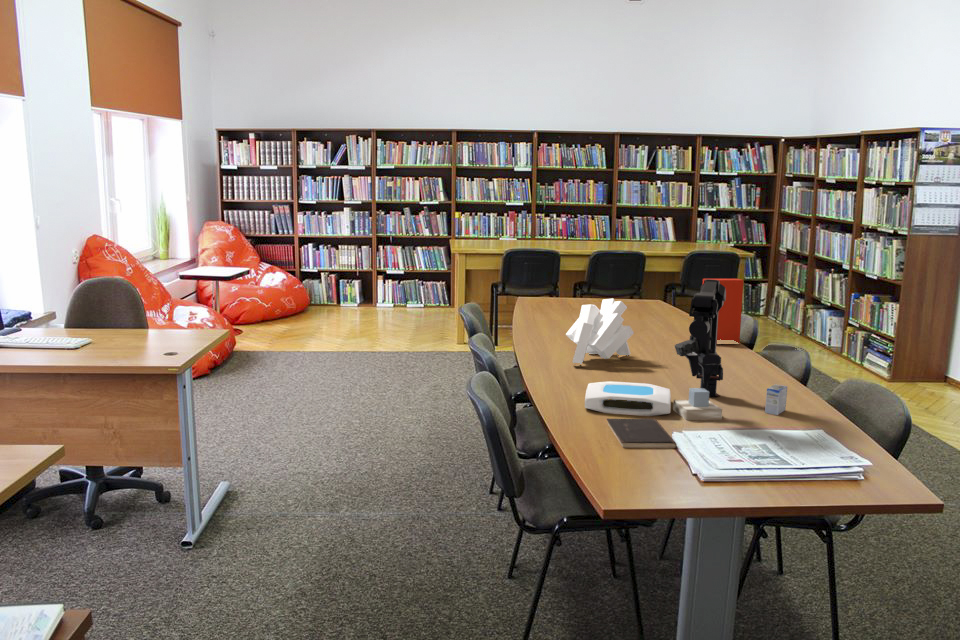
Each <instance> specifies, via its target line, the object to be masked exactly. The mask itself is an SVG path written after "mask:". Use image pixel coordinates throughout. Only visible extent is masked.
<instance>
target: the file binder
mask: <svg viewBox="0 0 960 640" xmlns="http://www.w3.org/2000/svg"><path fill="white" fill-rule="evenodd" d="M706 279H707V278H702V285H703V284H704V280H706ZM712 279H713V280H718V281H719V282H720V284H721V285H723V286H724V287H725V289H726V300H725V301H724V304H723V306H722V307H721V309H720V310H719V312H718V327H717V340H720V339H721V340H734V341H736V342H738V343H739V344H740V341H741V339H740V338H741V324H742V310H743V307H742V306H743V296H744V295H743V293H744V279H740V278H712Z"/></svg>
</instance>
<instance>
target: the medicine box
mask: <svg viewBox="0 0 960 640" xmlns="http://www.w3.org/2000/svg"><path fill="white" fill-rule="evenodd" d="M787 396H788V386H787V385H782V384H776V383H775V384H772V385H771V386H769V387H768V388H766V394H765V407H764V408H765V410H764V413H765V414H768V415H773V414H774V415H773V416H779V415H780V414H782V413H783V412H785V411H786V407H787V398H788V397H787Z"/></svg>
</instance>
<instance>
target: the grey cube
mask: <svg viewBox="0 0 960 640" xmlns="http://www.w3.org/2000/svg"><path fill="white" fill-rule="evenodd" d="M688 389H689V390H688V400H689V403H690V404H691V405H692V406H693V407H708V406H709V401H710V397H709V391H707V390H706V389H705V388H699V387H689V388H688Z"/></svg>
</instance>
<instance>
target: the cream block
mask: <svg viewBox="0 0 960 640" xmlns="http://www.w3.org/2000/svg"><path fill="white" fill-rule="evenodd" d="M672 401H673V403H672V411H673V412H675V413H676V414H678V415H679V416H680V417H681V418H683V420H685V421H711V420H712V421H713V420H723V408H721V407H719V406H718V405H716V404H715V403H714V402H712V401H710V400H709V406H708V407H693V406H692V405H691V404H690V403H689V399H673V400H672Z"/></svg>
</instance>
